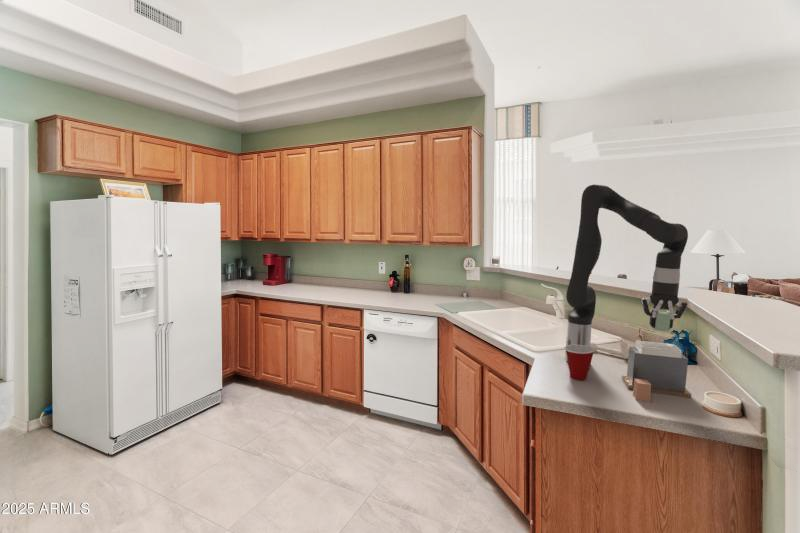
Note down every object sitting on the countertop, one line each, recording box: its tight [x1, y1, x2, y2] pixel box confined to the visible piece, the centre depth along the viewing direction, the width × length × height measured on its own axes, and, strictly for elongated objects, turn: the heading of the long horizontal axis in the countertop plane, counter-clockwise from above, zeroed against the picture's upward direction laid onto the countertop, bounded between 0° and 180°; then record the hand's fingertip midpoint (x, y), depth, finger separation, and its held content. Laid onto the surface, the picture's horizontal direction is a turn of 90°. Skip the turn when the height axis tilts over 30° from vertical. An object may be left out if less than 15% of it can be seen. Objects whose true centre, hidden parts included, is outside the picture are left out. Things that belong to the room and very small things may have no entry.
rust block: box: [632, 379, 652, 403], centre depth 126 cm, size 4×4×6 cm
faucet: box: [590, 336, 629, 360], centre depth 172 cm, size 4×18×10 cm, turn 42°
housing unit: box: [621, 340, 692, 398], centre depth 135 cm, size 19×10×16 cm, turn 71°
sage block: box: [653, 311, 671, 333], centre depth 132 cm, size 4×4×6 cm
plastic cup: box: [563, 345, 595, 381], centre depth 143 cm, size 11×11×12 cm
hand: (660, 327), depth 132 cm, fingers closed on sage block, 4 cm apart
